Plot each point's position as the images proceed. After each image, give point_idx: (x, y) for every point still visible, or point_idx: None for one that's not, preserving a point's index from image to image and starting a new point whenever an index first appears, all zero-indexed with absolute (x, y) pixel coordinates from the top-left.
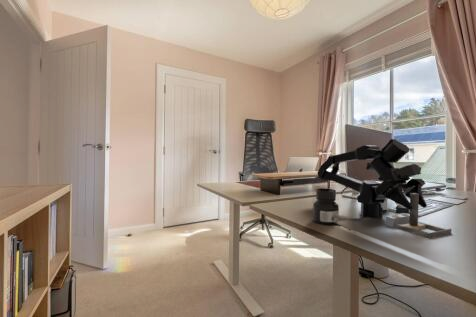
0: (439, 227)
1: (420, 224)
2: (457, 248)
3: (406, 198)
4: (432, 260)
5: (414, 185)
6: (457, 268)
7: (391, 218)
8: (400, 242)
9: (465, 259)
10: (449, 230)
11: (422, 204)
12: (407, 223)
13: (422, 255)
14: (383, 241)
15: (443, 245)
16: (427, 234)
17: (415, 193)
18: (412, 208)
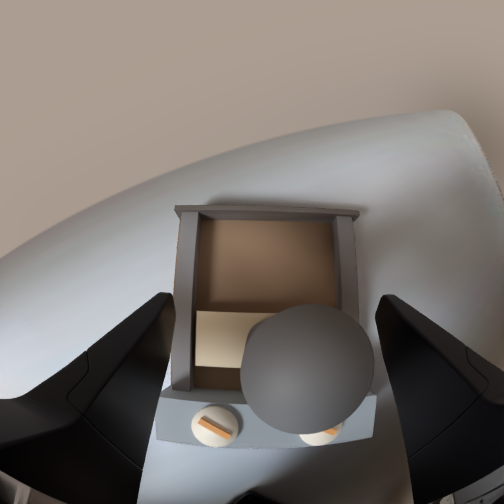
0: (183, 251)
1: (216, 329)
2: (309, 157)
3: (442, 348)
4: (447, 163)
5: (3, 499)
6: (428, 127)
7: (373, 404)
8: (440, 266)
9: (371, 126)
10: (192, 207)
11: (169, 328)
12: (231, 391)
13: (449, 185)
14: (473, 292)
15: (327, 187)
16: (351, 224)
17: (269, 378)
18: (381, 299)
